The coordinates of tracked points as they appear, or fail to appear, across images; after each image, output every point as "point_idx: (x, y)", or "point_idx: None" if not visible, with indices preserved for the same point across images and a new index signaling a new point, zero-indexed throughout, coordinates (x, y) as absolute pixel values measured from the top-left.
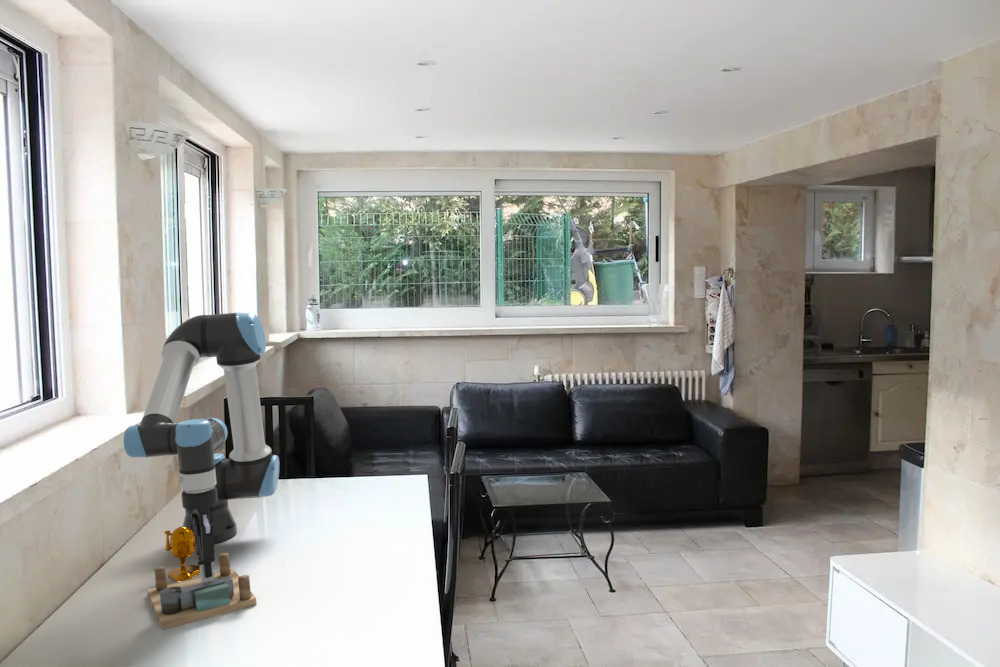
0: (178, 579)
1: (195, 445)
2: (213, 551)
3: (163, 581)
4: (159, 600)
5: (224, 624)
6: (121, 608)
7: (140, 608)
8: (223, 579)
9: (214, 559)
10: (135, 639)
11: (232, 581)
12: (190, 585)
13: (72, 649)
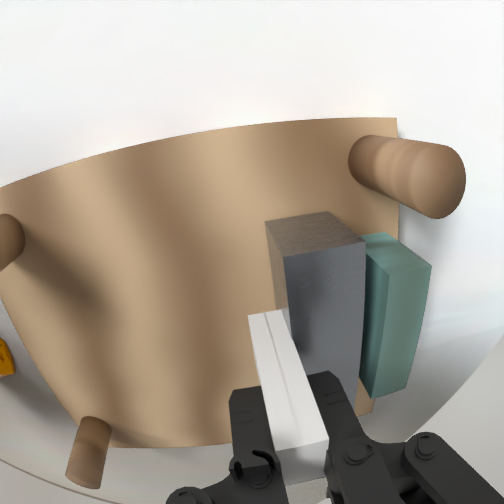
0: (9, 371)
1: None
2: (486, 487)
3: (102, 445)
4: (193, 435)
5: (454, 251)
6: (163, 466)
7: (181, 447)
8: (321, 294)
9: (443, 441)
10: (369, 429)
11: (361, 238)
12: (88, 366)
13: (327, 484)
